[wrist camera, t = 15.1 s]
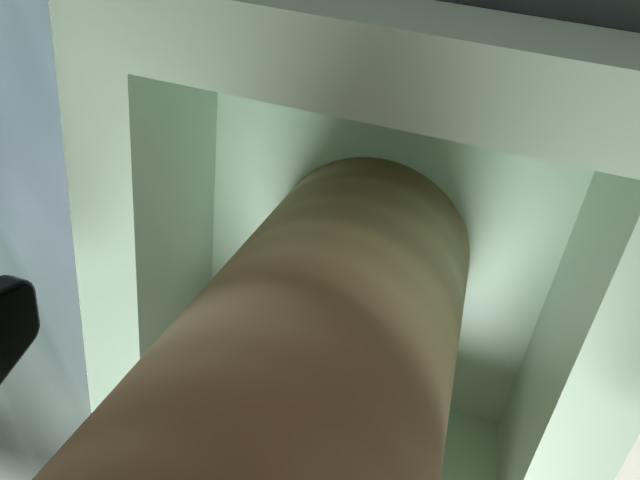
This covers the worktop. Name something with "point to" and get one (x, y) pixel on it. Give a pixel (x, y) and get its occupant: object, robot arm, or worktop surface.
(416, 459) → the wooden dowel
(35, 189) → the worktop surface
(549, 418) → the socket block
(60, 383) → the worktop surface
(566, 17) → the worktop surface
